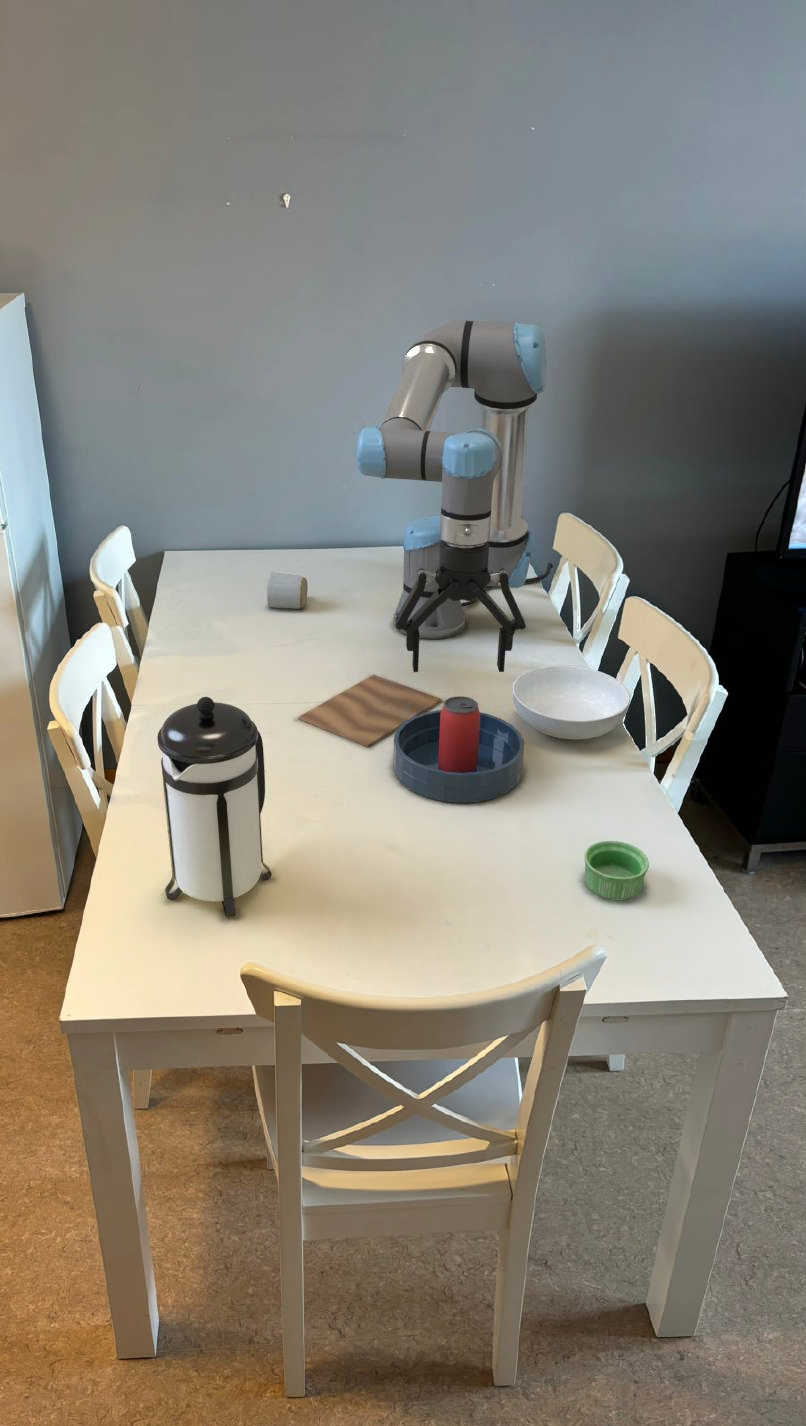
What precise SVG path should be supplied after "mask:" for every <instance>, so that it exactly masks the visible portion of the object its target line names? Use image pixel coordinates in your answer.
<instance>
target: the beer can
mask: <svg viewBox="0 0 806 1426" xmlns="http://www.w3.org/2000/svg"><path fill="white" fill-rule="evenodd" d="M440 710H441V714H440V736H439V759H438V765H439V767H440V769H441V770H443V771H446V772H459V773H468V772H473V771H475V769H476V768H477V764H478V748H479V733H480V708H479V703H478V702H477V701H476V700H475V699H474V698H471V697H469V696H463V695H462V696H461V695H458V696H452V697H449V698H447V699H446V700H445V701H444V702H443V706H442V708H441V709H440Z"/></svg>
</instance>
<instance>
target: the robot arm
mask: <svg viewBox="0 0 806 1426" xmlns="http://www.w3.org/2000/svg"><path fill="white" fill-rule="evenodd" d="M401 373H402V376H401V379H400V381H399V384H398V386H397V388H396V390H395V392H394V395H393V398H392V400H391V401H390V404H389V406H388V409H387V412H386V413H385V415H384V419H383V421H382V423H381V426H380V427H379V426H378V425H375V426H370V427H369V426H367V427H364V428H362V429H361V431H360V432H359V435H358V439H357V445H356V465H357V468H358V471H359V472H360V473H361V475H363V476H365V477H366V476H367V477H374V478H380V479H382V480H383V479H394V480H407V481H408V480H411V481H423V482H435V483H436V482H437V483H441V507H440V515H432V516H431V515H430V516H425V517H422V518H419V519H416V520H413V521H412V522H411V523H409V524H408V525H407V526H406V528H405V531H404V541H403V544H402V545H403V546H402V549H403V581H402V582H403V583H402V584H403V585H402V592H401V595H400V598H399V600H398V603H397V606H396V608H395V610H394V611H395V612H394V614H393V627H394V628H395V629H396V630H397V631H398V632H400V633H401V634H403V635H405V648H406V650H407V652H412V671H413V673H419V665H420V664H419V662H420V659H419V658H420V639H425V640H439V639H440V640H441V639H446V638H450V637H453V636H456V635H459V634H461V632H462V631H464V629H465V626H466V615H465V613H464V609H463V608H464V607H469V606H472V605H474V604H475V603H476V602H477V601H480V603H481V604H482V605H483V606H484V607H485V608H486V609H487V610H488V611H489V613H490V614H491V615H492V616H493V617H494V619H495V620H496V621H497V622H498V623H499V625H500V626H501V627H499V633H498V642H497V643H498V646H497V657H496V660H497V661H496V666H497V671H498V672H499V673H505V662H506V652H511V651H512V650H513V643H514V635H515V632H516V631H518V630H522V631H523V630H525V629H526V627H527V624H526V622H525V619H524V617H523V614H522V612H521V611H520V607H519V606H518V604H517V602H516V600H515V597H514V595H513V592H512V590H511V588H513V589H519V588H521V587H522V586H524V584H528V583H534V582H539V581H541V580H543V579H546V578H547V577H548V576H549V575H550V573H551V569H552V568H554V566H553V565H554V564H553V563H552V562H548V563H547V567H546V570H545V573H543V574H541V575H539V576H535V577H531V578H527V576H528V572H529V567H530V564H531V558H532V553H533V549H534V544H535V538H536V534H535V532H532V531H530V530H529V524H528V522H527V520H526V519H525V518H523V517H522V513H523V496H524V482H525V481H524V479H525V466H526V465H525V463H526V445H527V430H528V414H529V409H530V408H531V407H532V406H533V405H534V404H535V403H536V402H537V399H538V395H539V394H541V393H544V392H545V390H546V386H547V351H546V340H545V336H544V331H543V330H542V329H541V327H539V326H538V325H535V324H529V323H521V322H519V321H515V322H503V321H501V322H500V321H483V320H482V321H479V320H476V321H475V320H464V319H458V320H450V321H448V322H445V323H442V324H439V325H436V326H435V327H433V328H431V329H429V330H428V331H426V332H425V333H423V334H422V335H420V337H418V338H417V339H416V340H415V341H414V342H413V343H412V344H411V346H410V347H409V348H408V350H407V352H406V353H405V355H404V358H403V360H402V364H401ZM450 388H462V389H473V390H474V392H473V393H474V394H473V399H474V401H475V403H477V404H478V406H480V407H481V423H480V425H481V428H473V429H470V430H468V431H466V432H446V431H432V430H431V427H432V425H433V422H434V418H435V416H436V413H437V411H438V408H439V405H440V402H441V400H442V398H443V395H444V393H446V392H447V391H448V390H450ZM493 588H494V589H495V588H500V590H501V593H502V595H503V597H504V599H505V602H506V604H507V606H508V608H509V610H510V612H511V615H512V617H513V619H512V620H511V619H510V618H509V617H508V616H507V614H506V613H505V612H504V611H503V610H502V608H500V606H499V605H498V604H497V602H496V601H495V599H493V598H492V596H490V594H489V593H488V592H487V590H489V589H493ZM461 601H465V602H461Z"/></svg>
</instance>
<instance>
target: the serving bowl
mask: <svg viewBox="0 0 806 1426" xmlns="http://www.w3.org/2000/svg"><path fill="white" fill-rule="evenodd" d="M511 692H512V693H511V694H512V700H513V705H514V708H515V710H516V712H517V713H518V715H519V716H520V718H521V719H522V720H523V721H524V722H525V723H526V724H527V725H528V726H530V727H531V728H533V729H534V730H536V731H537V732H540V733H542V734H544V735H547V736H550V737H554V738H557V739H564V740H589V739H593V738H598V737H600V736H603V735H606V734H608V733H609V732H611V731H613V730H614V729H615V728H616V727H618V726H619V724H621V722H622V721H623V720H624V719H625V717H626V715H627V712H628V710H629V707H630V704H631V694H630V692H629V690H628V689H627V687H626V686H625V685H624V684H623V683H622V682H621V681H619V680H618V679H617V678H615V677H614V676H612V675H609V674H607V673H605V672H603V671H599V670H597V669H593V668H589V667H584V666H583V667H582V666H577V665H566V664H565V665H563V664H561V665H560V664H559V665H558V664H555V665H545V666H539V667H535V668H532V669H529V670H527V671H525V672H523V673H521V674H520V675H519V676H517V677H516V678H515V680H514V682H513V684H512V687H511Z"/></svg>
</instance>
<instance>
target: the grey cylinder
mask: <svg viewBox="0 0 806 1426" xmlns="http://www.w3.org/2000/svg"><path fill="white" fill-rule="evenodd" d="M266 590H267V591H266V602H267V603H266V604H267V606H268V608H275V609H276V608H277V609H292V610H293V609H295V610H297V609H303V608H304V607H305V606H306V603H307V600H308V599H307V598H308V580H307V578H306V577H304V576H301V575H296V574H287V573H280V572H271V573H270V574H269V576H268V580H267V588H266Z"/></svg>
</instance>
